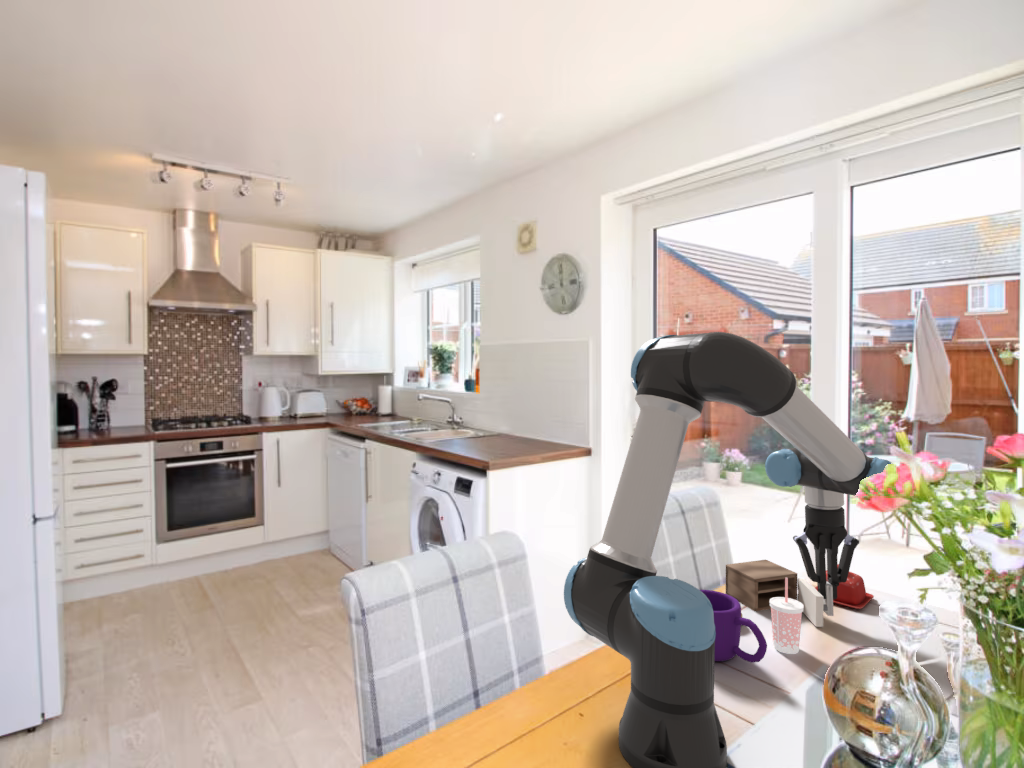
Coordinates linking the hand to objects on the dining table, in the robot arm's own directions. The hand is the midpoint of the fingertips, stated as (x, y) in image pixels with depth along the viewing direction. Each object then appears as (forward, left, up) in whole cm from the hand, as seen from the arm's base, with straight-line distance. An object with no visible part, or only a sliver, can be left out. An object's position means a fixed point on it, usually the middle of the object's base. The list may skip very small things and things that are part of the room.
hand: (828, 613), depth 120 cm
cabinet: (-6, +14, -2) cm, 15 cm away
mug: (-32, -6, -2) cm, 32 cm away
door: (0, +8, -2) cm, 8 cm away
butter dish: (+13, +9, -2) cm, 16 cm away
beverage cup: (-18, -7, -2) cm, 19 cm away
